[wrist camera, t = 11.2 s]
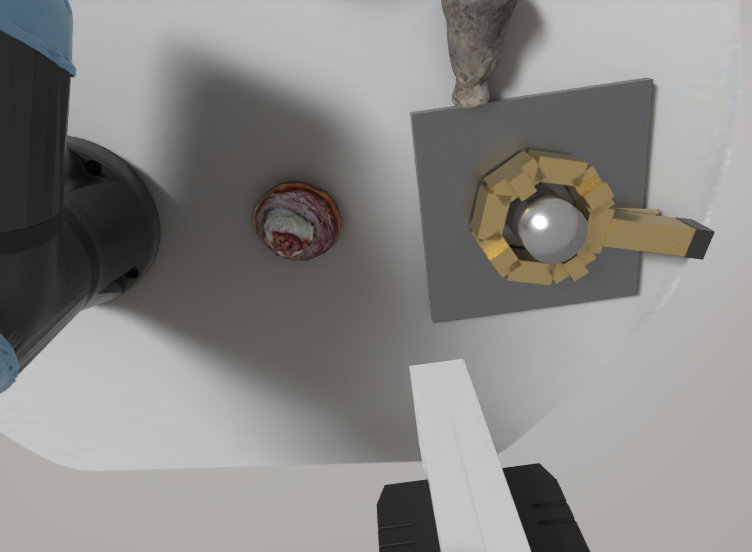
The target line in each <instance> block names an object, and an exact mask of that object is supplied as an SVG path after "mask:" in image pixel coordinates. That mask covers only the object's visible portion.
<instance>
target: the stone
mask: <svg viewBox="0 0 752 552" xmlns="http://www.w3.org/2000/svg"><path fill="white" fill-rule="evenodd" d="M441 2H442V8H443V12H444V15H445V18H446V23H447V40H448V48H449V56H450V62H451V66H452V69H453V72H454V74H455V76H456V85H455V88H454V91H453V94H452V102H453V103H454V104H455V105H456V106H458V107H459V108H462V109H472V108H477V107H481V106H483V105H485V104H486V103H487V102H488V101H489V98H490V93H489V90H488V86H487V82H488V79H489V77H490V76H491V74H492V73H493V71H494V70H495V68H496V67H497V65H498V62H499V59H500V56H501V52H502V45H503V38H504V34H505V31H506V27H507V24H508V21H509V19H510V17H511V15H512V12H513V9H514V8H515V6H516V3H517V0H441Z"/></svg>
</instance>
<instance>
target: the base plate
mask: <svg viewBox="0 0 752 552" xmlns="http://www.w3.org/2000/svg"><path fill="white" fill-rule="evenodd" d="M652 89H653V79H649V78H642V79H636V80H629V81H622V82H615V83H608V84H602V85H595V86H588V87H581V88H574V89H568V90H561V91H554V92H547V93H540V94H534V95H527V96H520V97H513V98H506V99H500V100H493V101H488V102H487V103H486V104H485V105H483V106H481V107H477V108H472V109H462V108H459V107H458V106H452V107H445V108H438V109H432V110H425V111H418V112H411V113H410V116H411V125H412V135H413V144H414V154H415V163H416V173H417V182H418V192H419V201H420V211H421V220H422V230H423V239H424V249H425V258H426V268H427V277H428V287H429V296H430V306H431V315H432V320H433V323H437V322H444V321H451V320H458V319H465V318H472V317H480V316H487V315H494V314H501V313H508V312H516V311H523V310H530V309H537V308H544V307H552V306H559V305H566V304H573V303H580V302H588V301H595V300H602V299H609V298H616V297H624V296H631V295H636V290H637V278H638V265H639V253H640V251H637V250H629V249H620V248H612V247H604V246H603V247H602V250H601V253H600V254H599V253H593V254H594V255H595V257H596V259H595V260H593V261H591V262H590V263H588V264H587V265H585V267H586V269H587V270H588V272H589V273H587V274H585V275H584V276H582V277H581V278H579V279H577V280H576V281H574V280H573V279H572V278H571V277H570V276H568V277H566V278H565V279H563V280H562V281H560V282H559V283H557V284H556V283H555V282H554V280H553V279H552V283H551V285H543V284H535V283H526V282H517V281H508V280H507V279H506V278H505V277H503V278H502V276H501V275H500V273H498V271H497V270H496V269H495V267H494V266H493V265H492V263H491V262H490V260H489V259H488V257H487V255H486V254H485V253H484V251H483V250H482V248H481V247H480V246H479V244H478V243H477V241H476V239H475V238H474V236H473V234H472V233H471V232H472V229H471V228H470V226H471V221H472V217H473V213H474V208H475V204H476V199H477V195H478V190H479V186H480V184H484V185H487V184H486V182H485V181H484V178H485V177H487V176H488V175H490V174H491V173H492V172H494V171H495V170H497V169H498V168H499V167H501V166H502V165H504V164H505V163H506V162H508V161H509V160H511V159H512V158H513V157H515V156H516V155H518V154H519V153H520V152H522V151H524V152H526V153H527V154H528V151H529V149H532V150H539V151H547V152H554V153H561V154H568V155H574V156H576V157H578V158H580V159H582V160H584V161H585V162H587V163H588V164H590V165H592V166H593V167H594V169H595V171H596V172H597V174H598V176H599V178H600V179H602V180H603V181H605V182H607V184H608V186H609V187H610V189H611V191H612V193H613V194H614V197H612V200H613V202H614V205H612V206H611V207H612V208H613V209H615V210H619V211H626V212H634V213H642V214H650V215H658V211H659V209H643V202H644V190H645V177H646V164H647V152H648V139H649V126H650V114H651V101H652ZM534 187H535V189H536V190H537V192H535V193H534V194H532V195H531V196H529V197H528V198H526V199H525V200H523V201H521V200H520V199H519V198H516V199H515V200H513V201H512V202H510V205H509V209H508V212H507V216H506V220H505V224H504V228H503V232H502V237H503V238H504V240H505V241H506V242H507V244H508V245H509V246H510V248H516V249H524V250H528V251H529V253H530V254H531V255H532V256H533V257H534V258H535V259H537V260H539V261H541V262H544V263H549V264H554V263H561V262H564V261H566V260H568V259H570V258H572V257H573V256H574V255H576V254H577V253H578V252H579V251H580V249H581V248H582V247H583V245H584V243H585V241H586V238H587V234H588V225H587V221H586V219H585V217H584V215H583V214H582V213H581V212H580V211H579V210H578V209H576V208H575V206H576V201H575V199H574V198H573V196H572V194H571V193H570V191H569V190H568V188H567V186H566V185H562V184H554V183H547V182H539V183H538V184H536V185H535V186H534Z"/></svg>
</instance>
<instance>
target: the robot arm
mask: <svg viewBox="0 0 752 552" xmlns="http://www.w3.org/2000/svg"><path fill="white" fill-rule="evenodd" d="M72 34H73V17H72V11H71V7H70V4H69V2H68V0H0V393H2V392H4V391H5V390H7V389H8V388H9V387H10V386H11V385H12V384H13V383H14V382H15V381H16V380H15V378H17V377H18V374H19V373H20V372H21V371H22V370H23V369H24V368H25V367H26V366H27V365H28V364H29V363H30V362H31V361H32V360H33V359H34V358H35V357H36V356H37V355H38V354H39V353H40V352H41V351H42V350H43V349H44V348H45V347H46V346H47V345H48V344H49V343H50V342H51V341H52V340H53V338H54V337H55V336H56V335H57V334H58V333H59V332H60V331H61V330H62V329H63V328H64V327H65V326H66V325H67V324H68V323H69V322H70V321H71V320H72V319H73V318H74V317H75V316H76V315H77V314H78V313H79V312H80V311H81V310H84V309H87V308H90V307H93V306H96V305H99V304H102V303H105V302H108V301H111V300H113V299H115V298H117V297H119V296H121V295H122V294H124V293H126V292H127V291H128V290H130V289H131V288H132V287H133V286H134V285H135V284H136V283H137V282H138V281H139V280H140V279H141V278H142V277H143V276H144V274H145V273H146V272H147V271H148V270H149V268H150V267H151V265H152V263H153V261H154V259H155V257H156V255H157V251H158V248H159V242H160V223H159V217H158V213H157V210H156V207H155V204H154V201H153V199H152V197H151V195H150V193H149V191H148V190H147V188H146V186H145V185H144V183H143V182H142V181H141V179H140V178H139V177H138V176H137V174H136V173H135V172H134V171H133V170H132V169H131V168H130V167H129V166H128V165H127V164H126V163H124V162H123V161H122V160H121V159H120V158H118V157H117V156H116V155H114V154H113V153H111V152H109V151H108V150H106V149H104V148H102V147H100V146H98V145H96V144H94V143H92V142H89V141H86V140H83V139H80V138H76V137H71V136H67V131H68V114H69V98H70V81H71V77H75V76H76V68H75V66H74V65H73V64H72ZM409 368H410V376H411V384H412V392H413V400H414V407H415V415H416V423H417V431H418V439H419V446H420V452H421V458H422V463H423V469H424V475H425V480H420V481H412V482H405V483H397V484H390V485H385V486H384V488H383V491H382V493H381V496H380V498H379V500H378V503H377V518H378V535H379V536H378V537H379V552H590V551H589V548H588V547H587V544H586V542H585V540H584V538H583V536H582V533H581V531H580V529H579V527H578V525H577V523H576V521H575V520H574V516H573V514H572V512H571V510H570V508H569V505H568V504H567V503H566V499H565V497H564V495H563V492H562V490H561V488H560V486H559V484H558V482H557V480H556V479H555V478H554V477H553V476H552V475H551V474H550V473H549V472H548V471H547V470H546V469H545V468H544V467H543V466H541V464H539V463H537V464H530V465H523V466H515V467H507V468H502V467H501V464H500V461H499V459H498V456H497V453H496V450H495V447H494V444H493V441H492V439H491V436H490V433H489V430H488V427H487V424H486V421H485V419H484V416H483V413H482V410H481V407H480V404H479V401H478V399H477V396H476V393H475V390H474V387H473V384H472V381H471V379H470V376H469V373H468V370H467V367H466V364H465V361H464V359H457V360H449V361H442V362H435V363H427V364H420V365H413V366H409Z"/></svg>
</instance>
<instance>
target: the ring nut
mask: <svg viewBox="0 0 752 552" xmlns="http://www.w3.org/2000/svg"><path fill="white" fill-rule="evenodd" d="M484 181H485V182H486V184H487V185H484V184H480V186H479V190H478V195H477V199H476V204H475V208H474V213H473V217H472V221H471V226H470V228H471V229H472V232H471V233H472V234H473V236H474V238H475V239H476V241H477V243H478V244H479V246H480V247H481V248H482V250H483V251H484V253H485V254H486V255H487V257H488V259H489V260H490V262H491V263H492V265H493V266H494V267H495V269H496V270H497V271H498V273H500V275H501V276H502V278H503V277H505V278H506V279H507V280H508V281H517V282H526V283H535V284H543V285H551V283H552V279H553V280H554V282H555V283H556V284H557V283H559V282H560V281H562V280H563V279H565V278H566V277H568V276H570V277H571V278H572V279H573V280H574V281H576V280H577V279H579V278H581V277H582V276H584V275H585V274H587V273H589V272H588V270H587V269H586V267H585V265H587V264H588V263H590V262H591V261H593V260H595V259H596V257H595V255H594V254H593V253H599V254H600V253H601V250H602V247H603V246H604V247H612V248H620V249H629V250H637V251H645V252H653V253H661V254H669V255H678V256H684V257H686V258H695V259H703V258H704V256H705V253H706V251H707V248H708V246H709V244H710V242H711V239H712V237H713V235H714V231H712V230H711V229H709V228H707V227H705V226H703V225H701V224H700V223H698V222H696V221H694V220H692V219H685V218H677V217H676V218H673V217H665V216H657V215H650V214H642V213H634V212H626V211H619V210H615V209H613V208H612V207H611V206H612V205H614V202H613V200H612V197H614V194H613V193H612V191H611V189H610V187H609V186H608V184H607V182H605V181H603V180H602V179H600V178H599V176H598V174H597V172H596V171H595V169H594V167H593V166H592V165H590V164H588V163H587V162H585V161H584V160H582V159H580V158H578V157H576V156H574V155H568V154H561V153H554V152H547V151H539V150H532V149H529V151H528V154H527V153H526V152H524V151H522V152H520V153H519V154H518V155H516V156H515V157H513V158H512V159H511V160H509V161H508V162H506V163H505V164H504V165H502V166H501V167H499V168H498V169H497V170H495V171H494V172H492V173H491V174H490V175H488V176H487V177H485V178H484ZM539 182H547V183H554V184H562V185H566V186H567V188H568V190H569V191H570V193H571V194H572V196H573V198H574V199H575V201H576V206H575V208H576V209H578V210H579V211H580V212H581V213H582V214H583V215H584V217H585V219H586V221H587V225H588V234H587V238H586V241H585V243H584V245H583V247H582V248H581V249H580V251H579V252H578V253H577V254H576V255H574V256H573V257H572V258H570V259H568V260H566V261H564V262H561V263H554V264H549V263H544V262H541V261H539V260H537V259H535V258H534V257H533V256H532V255H531V254H530V253H529V251H528V250H524V249H516V248H510V246H509V245H508V244H507V242H506V241H505V240H504V238H503V237H502V232H503V228H504V224H505V220H506V216H507V212H508V209H509V205H510V202H512V201H513V200H515V199H516V198H519V199H520V200H521V201H523V200H525V199H526V198H528V197H529V196H531V195H532V194H534V193H535V192H537V190H536V189H535V187H534V186H535V185H536V184H538V183H539Z"/></svg>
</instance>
